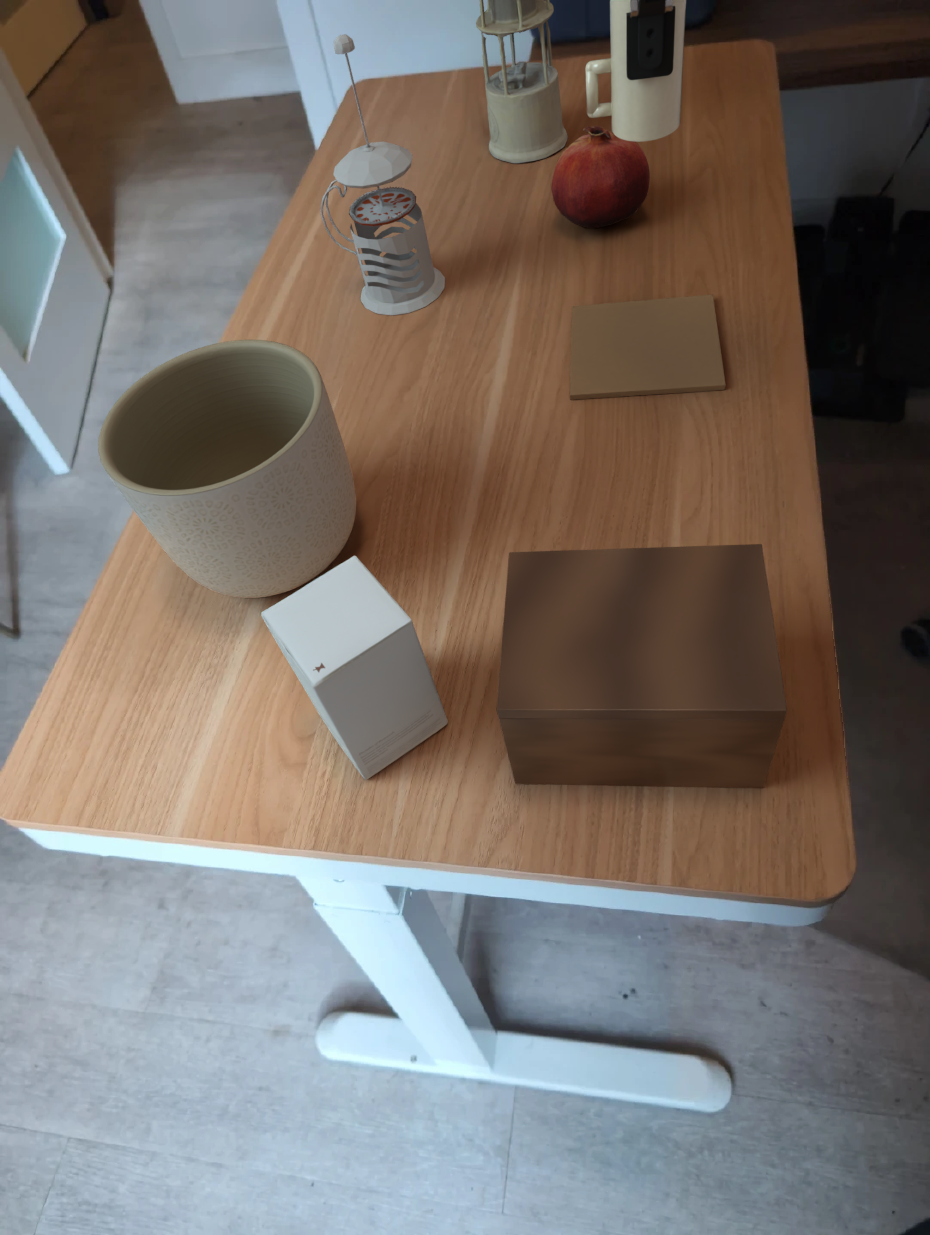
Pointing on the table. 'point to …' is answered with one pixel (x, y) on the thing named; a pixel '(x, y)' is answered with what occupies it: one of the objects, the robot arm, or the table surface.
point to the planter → (235, 466)
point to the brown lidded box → (640, 667)
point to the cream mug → (637, 84)
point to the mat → (645, 348)
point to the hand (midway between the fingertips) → (648, 55)
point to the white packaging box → (359, 665)
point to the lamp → (521, 85)
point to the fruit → (600, 179)
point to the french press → (400, 272)
